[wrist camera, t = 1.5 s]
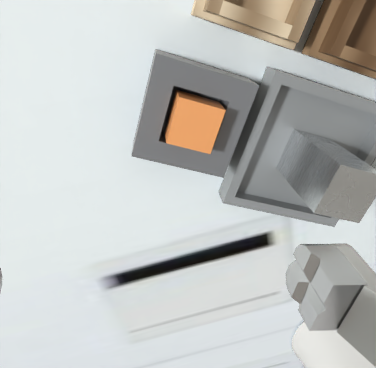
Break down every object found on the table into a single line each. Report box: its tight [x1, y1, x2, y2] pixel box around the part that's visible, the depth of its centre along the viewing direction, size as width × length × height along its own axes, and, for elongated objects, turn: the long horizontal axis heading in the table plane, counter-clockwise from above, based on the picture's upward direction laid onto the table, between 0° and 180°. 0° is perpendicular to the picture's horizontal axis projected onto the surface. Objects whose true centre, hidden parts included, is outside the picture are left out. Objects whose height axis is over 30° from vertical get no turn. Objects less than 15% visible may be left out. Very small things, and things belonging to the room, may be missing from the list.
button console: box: [132, 49, 259, 178], centre depth 29 cm, size 9×9×4 cm
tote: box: [219, 67, 376, 227], centre depth 33 cm, size 14×14×2 cm
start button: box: [165, 90, 226, 154], centre depth 27 cm, size 4×4×3 cm
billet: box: [276, 129, 376, 223], centre depth 29 cm, size 4×5×9 cm
